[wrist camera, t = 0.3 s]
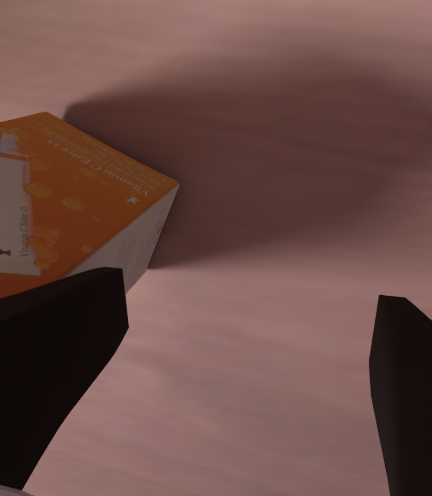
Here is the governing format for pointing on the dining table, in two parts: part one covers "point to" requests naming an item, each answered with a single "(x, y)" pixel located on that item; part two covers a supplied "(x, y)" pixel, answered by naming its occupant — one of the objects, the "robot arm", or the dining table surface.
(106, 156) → the small box
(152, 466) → the dining table surface
